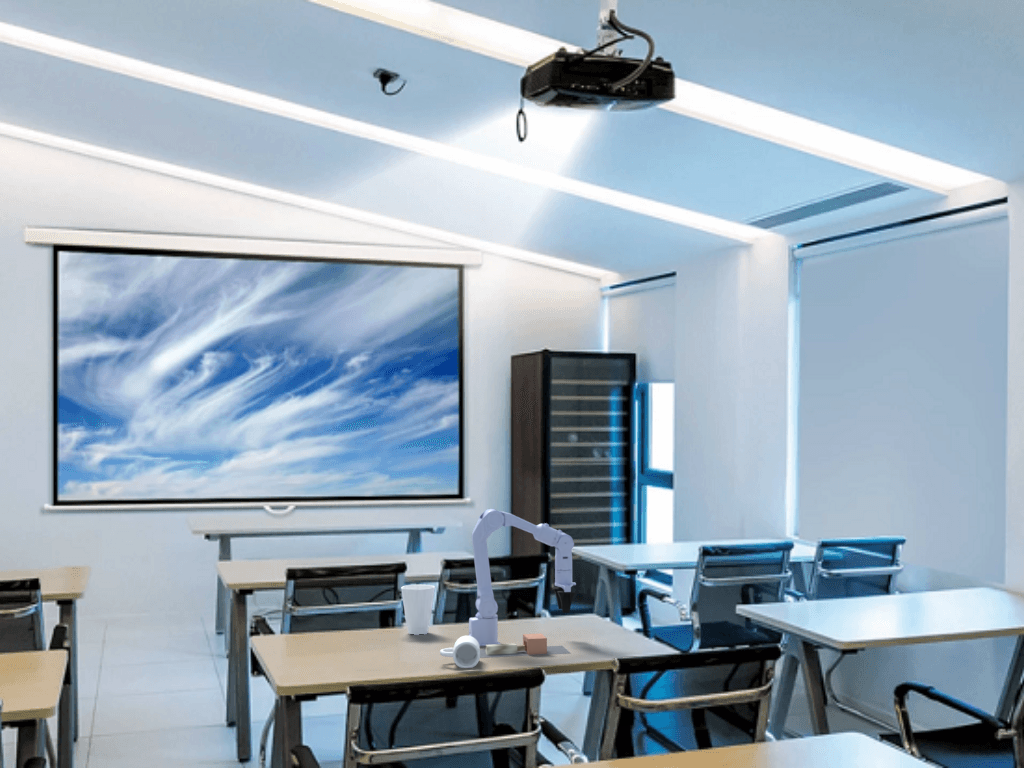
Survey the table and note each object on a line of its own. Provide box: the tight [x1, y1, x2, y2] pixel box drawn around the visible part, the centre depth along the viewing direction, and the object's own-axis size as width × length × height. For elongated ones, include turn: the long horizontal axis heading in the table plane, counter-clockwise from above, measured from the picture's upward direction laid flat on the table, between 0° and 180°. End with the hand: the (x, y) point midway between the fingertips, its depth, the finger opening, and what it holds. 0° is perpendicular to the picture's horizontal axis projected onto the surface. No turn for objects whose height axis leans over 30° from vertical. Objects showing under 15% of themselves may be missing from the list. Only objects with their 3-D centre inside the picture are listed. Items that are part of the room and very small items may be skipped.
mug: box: [439, 635, 481, 669], centre depth 315 cm, size 12×10×8 cm
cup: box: [400, 583, 436, 636], centre depth 366 cm, size 12×12×16 cm
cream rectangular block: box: [485, 643, 525, 655], centre depth 330 cm, size 12×3×3 cm, turn 101°
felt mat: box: [480, 645, 571, 659], centre depth 331 cm, size 32×12×1 cm, turn 101°
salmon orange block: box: [522, 633, 548, 656], centre depth 332 cm, size 6×8×5 cm
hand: (563, 610), depth 350 cm, fingers open, 7 cm apart
